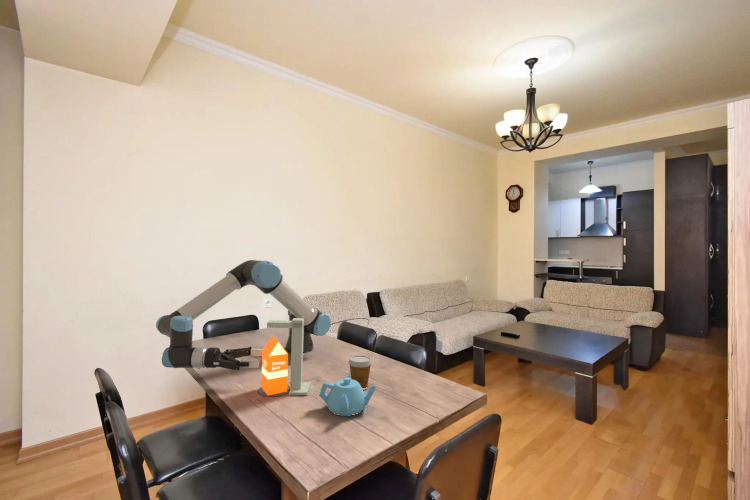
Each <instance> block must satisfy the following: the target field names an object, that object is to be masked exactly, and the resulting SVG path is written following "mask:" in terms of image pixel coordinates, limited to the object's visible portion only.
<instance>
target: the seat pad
mask: <svg viewBox="0 0 750 500" xmlns="http://www.w3.org/2000/svg"><path fill="white" fill-rule="evenodd" d="M289 390H290V385H288V384H287V391H286V392H281V393H277V394H272V395H267V394H266V393H265V391H264V390H263V389H262V387H261V386H260V387H259V388H258V390H257V391H258V392H257V393H258V394H259V395H260V396H262V397H267V396H268V397H267V398H270V397H271V398H273V397H272V396H275V397H281V396H283V394H284V395H286V394H288V393H289ZM287 392H288V393H287ZM285 393H286V394H285ZM280 395H281V396H280Z"/></svg>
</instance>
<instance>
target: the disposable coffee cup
mask: <svg viewBox="0 0 750 500" xmlns="http://www.w3.org/2000/svg"><path fill="white" fill-rule="evenodd" d="M372 363H373V361H372V358H371V357H369V356H367V355H363V354H362V355H360V354H359V355H353V356H351V357H350V358H349V360H348V364H349V375H350V376H351V379H352V380H355V381H357V382H358V383H359V384H360V386H361V387H362V388H366V387H367V388H368V384H369V379H370V372H371V366H372Z"/></svg>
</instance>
